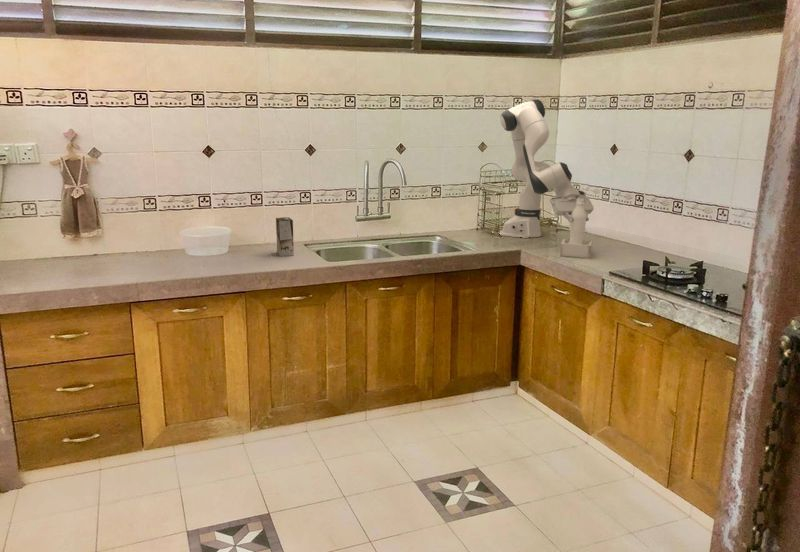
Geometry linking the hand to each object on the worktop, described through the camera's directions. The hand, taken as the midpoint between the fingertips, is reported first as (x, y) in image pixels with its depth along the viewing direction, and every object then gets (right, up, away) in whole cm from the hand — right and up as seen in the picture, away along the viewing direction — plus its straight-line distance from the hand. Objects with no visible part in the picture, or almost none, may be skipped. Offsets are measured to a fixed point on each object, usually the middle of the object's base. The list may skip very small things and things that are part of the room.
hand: (579, 221), depth 292 cm
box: (0, -15, +5) cm, 16 cm away
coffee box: (-133, -15, -1) cm, 134 cm away
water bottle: (-1, -14, +5) cm, 15 cm away
